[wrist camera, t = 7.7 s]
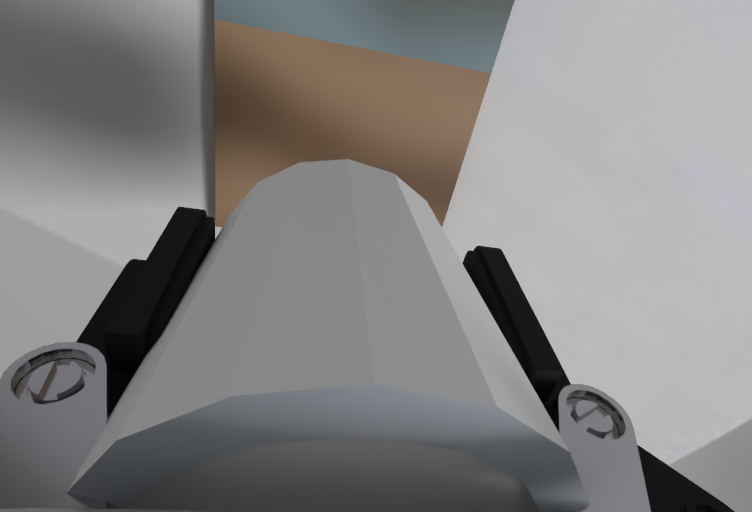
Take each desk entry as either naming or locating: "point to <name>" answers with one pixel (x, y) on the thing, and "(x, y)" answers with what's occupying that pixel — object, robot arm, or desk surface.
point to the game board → (350, 88)
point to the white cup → (331, 371)
